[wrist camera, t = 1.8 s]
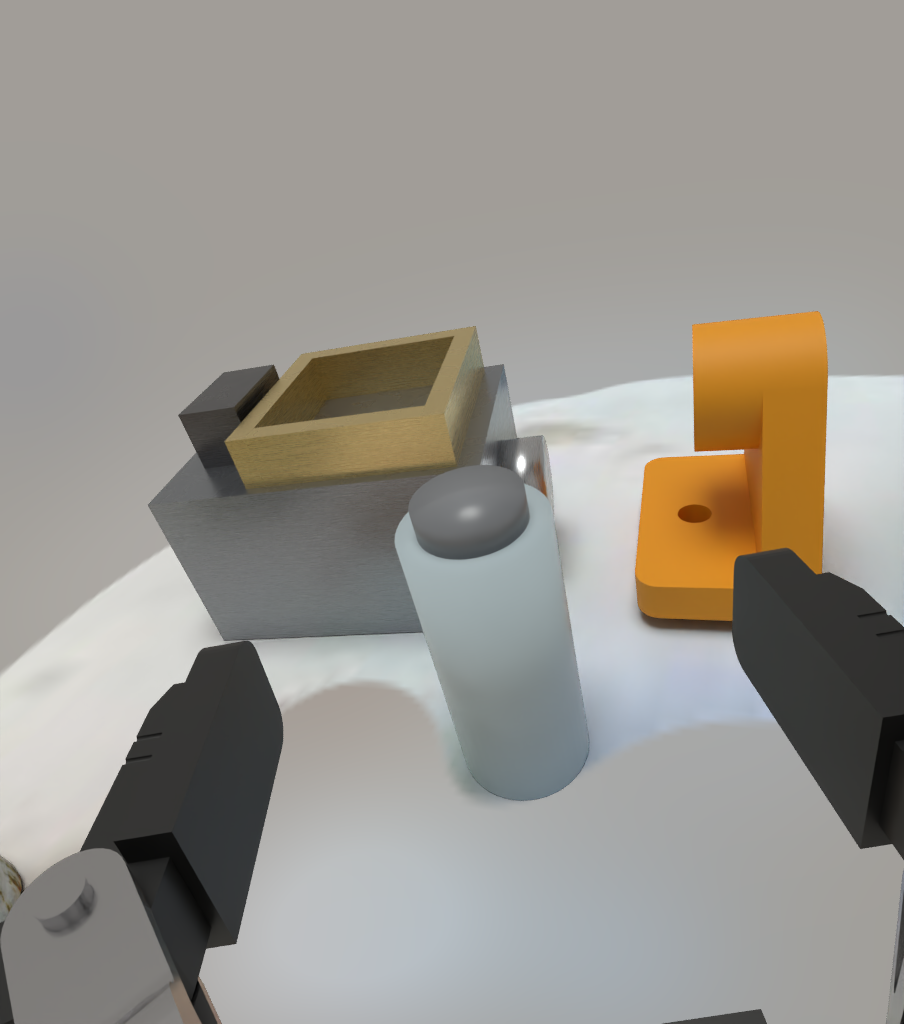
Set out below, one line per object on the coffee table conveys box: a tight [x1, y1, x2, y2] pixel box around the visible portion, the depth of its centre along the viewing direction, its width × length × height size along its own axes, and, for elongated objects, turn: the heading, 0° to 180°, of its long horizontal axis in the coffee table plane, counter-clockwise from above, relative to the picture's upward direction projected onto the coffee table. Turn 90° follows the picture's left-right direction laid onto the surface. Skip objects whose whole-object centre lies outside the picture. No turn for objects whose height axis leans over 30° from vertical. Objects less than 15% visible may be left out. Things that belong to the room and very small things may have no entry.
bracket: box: [635, 311, 828, 621], centre depth 30 cm, size 11×7×12 cm
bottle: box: [395, 465, 589, 801], centre depth 23 cm, size 5×5×12 cm
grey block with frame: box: [148, 326, 554, 640], centre depth 35 cm, size 18×11×12 cm, turn 81°
